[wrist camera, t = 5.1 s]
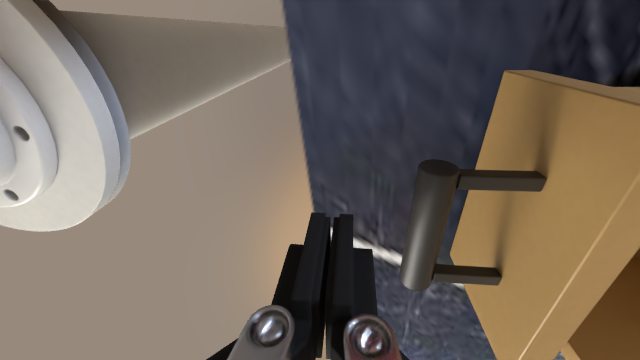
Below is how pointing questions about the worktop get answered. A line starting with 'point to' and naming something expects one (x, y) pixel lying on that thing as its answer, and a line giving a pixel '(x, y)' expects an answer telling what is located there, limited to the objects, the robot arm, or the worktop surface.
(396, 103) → the worktop surface
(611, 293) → the wooden pull-out drawer
